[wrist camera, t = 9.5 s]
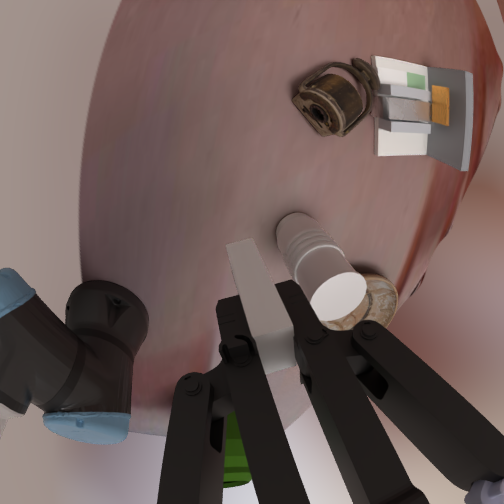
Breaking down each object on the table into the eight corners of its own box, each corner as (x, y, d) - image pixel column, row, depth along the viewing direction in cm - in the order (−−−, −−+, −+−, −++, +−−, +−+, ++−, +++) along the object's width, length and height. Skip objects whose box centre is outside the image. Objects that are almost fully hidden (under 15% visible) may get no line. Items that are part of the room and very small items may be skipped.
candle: (267, 217, 38) (304, 285, 26) (313, 203, 38) (368, 262, 26) (277, 256, 42) (311, 329, 29) (319, 242, 42) (365, 308, 30)
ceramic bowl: (293, 360, 59) (299, 377, 54) (271, 289, 45) (279, 309, 41) (383, 323, 59) (392, 338, 55) (389, 244, 46) (405, 259, 41)
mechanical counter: (288, 58, 23) (319, 145, 26) (390, 45, 21) (415, 123, 25) (279, 74, 29) (304, 144, 33) (366, 59, 28) (387, 124, 32)
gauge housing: (374, 154, 36) (413, 173, 28) (371, 56, 27) (414, 53, 20) (430, 153, 37) (467, 170, 29) (430, 68, 28) (472, 73, 21)
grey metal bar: (371, 116, 31) (399, 123, 26) (369, 75, 28) (398, 76, 23) (421, 119, 32) (449, 127, 27) (421, 84, 29) (450, 88, 24)
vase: (169, 410, 63) (175, 491, 43) (172, 374, 54) (178, 479, 33) (238, 411, 69) (254, 486, 48) (257, 376, 59) (282, 471, 39)
